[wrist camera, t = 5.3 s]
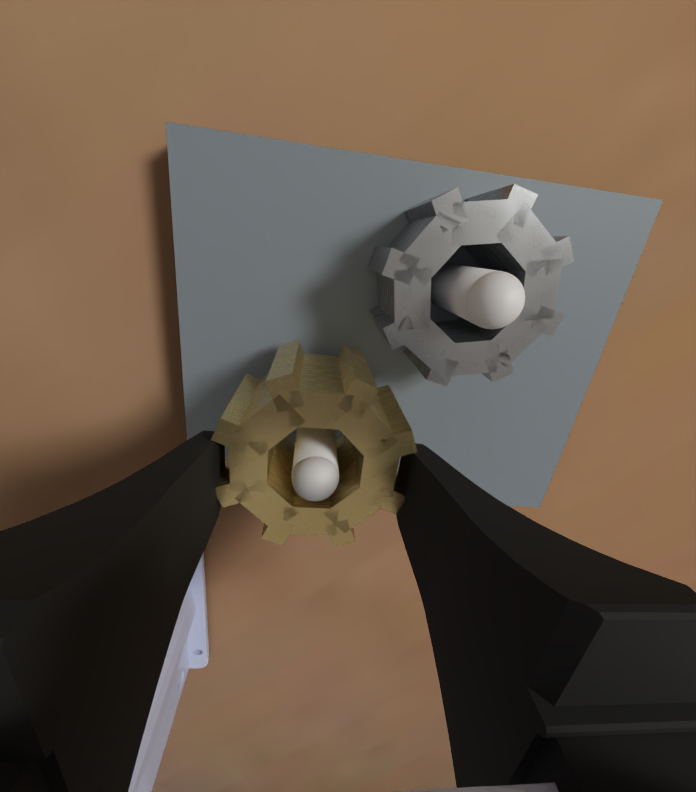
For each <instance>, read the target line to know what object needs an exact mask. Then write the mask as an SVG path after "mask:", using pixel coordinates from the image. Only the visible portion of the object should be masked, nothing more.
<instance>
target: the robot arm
mask: <svg viewBox="0 0 696 792" xmlns="http://www.w3.org/2000/svg"><path fill="white" fill-rule="evenodd" d="M213 433H214V431H204V430H203V431H202V432H200V433H198V434H196V435H195V436H193V437H192V438H190V439H189V440H187V441H186V442H184V443H183V444H181V445H180V446H178V447H177V448H175V449H173V450H172V451H170V452H169V453H167V454H166V455H164V456H163V457H161V458H159V459H158V460H156V461H155V462H153V463H151V464H149V465H148V466H146V467H144V468H143V469H141V470H139V471H137V472H136V473H134V474H132V475H130V476H129V477H127V478H125V479H123V480H122V481H120V482H118V483H116V484H114V485H112V486H110V487H108V488H106V489H104V490H102V491H100V492H98V493H96V494H93V495H91V496H89V497H87V498H85V499H83V500H81V501H78V502H76V503H74V504H71V505H69V506H66V507H64V508H61V509H59V510H56V511H54V512H51V513H49V514H46V515H44V516H41V517H39V518H36V519H34V520H31V521H29V522H26V523H23V524H21V525H18V526H15V527H12V528H9V529H6V530H3V531H0V792H152V788H153V785H154V782H155V778H156V775H157V772H158V769H159V765H160V762H161V759H162V755H163V752H164V749H165V746H166V742H167V739H168V736H169V732H170V729H171V726H172V722H173V719H174V716H175V713H176V709H177V706H178V703H179V699H180V696H181V693H182V690H183V686H184V683H185V680H186V676H187V673H188V670H189V668H203V667H205V666H206V665H207V664H208V660H209V643H208V625H207V606H206V587H205V569H204V549H205V547H206V545H207V542H208V540H209V537H210V535H211V533H212V530H213V528H214V525H215V523H216V521H217V518H218V515H219V511H220V508H221V503H220V502H219V500H218V498H217V496H216V486H217V484H218V482H219V479H220V477H221V475H222V472H223V470H224V468H225V445H222V444H220V443H217V442H215V441H212V440H211V438H212V436H213ZM415 444H416V448H417V452H415V453H412V454H408V455H405V456H401V458H400V463H399V468H398V473H397V475H398V477H399V480H400V483H401V486H402V489H403V492H404V494H405V499H404V503H403V504H402V506H401V507H400V508H399V510H398V511H397V513H396V516H397V521H398V525H399V529H400V532H401V535H402V538H403V541H404V544H405V548H406V551H407V554H408V557H409V560H410V563H411V566H412V569H413V572H414V575H415V578H416V582H417V585H418V588H419V591H420V594H421V598H422V602H423V605H424V609H425V614H426V619H427V623H428V628H429V633H430V637H431V642H432V647H433V652H434V657H435V662H436V667H437V672H438V677H439V682H440V688H441V694H442V699H443V705H444V711H445V716H446V722H447V728H448V734H449V740H450V746H451V753H452V759H453V766H454V772H455V779H456V785H457V788H445V789H428V790H410V791H393V792H696V593H695V592H694V591H693V590H692V589H691V588H690V587H688V586H687V585H684V584H682V583H679V582H676V581H673V580H670V579H668V578H665V577H662V576H659V575H657V574H654V573H651V572H648V571H645V570H643V569H640V568H637V567H634V566H631V565H629V564H626V563H624V562H621V561H619V560H616V559H614V558H611V557H609V556H607V555H604V554H602V553H599V552H597V551H595V550H592V549H590V548H588V547H585V546H583V545H581V544H579V543H577V542H574V541H572V540H570V539H568V538H566V537H564V536H562V535H560V534H558V533H556V532H554V531H552V530H550V529H548V528H546V527H544V526H542V525H540V524H538V523H537V522H535V521H533V520H531V519H529V518H527V517H526V516H524V515H522V514H521V513H519V512H517V511H516V510H514V509H512V508H511V507H509V506H507V505H506V504H504V503H502V502H501V501H499V500H498V499H496V498H495V497H493V496H492V495H490V494H489V493H488V492H486V491H485V490H483V489H482V488H480V487H479V486H477V485H476V484H475V483H473V482H472V481H471V480H469V479H468V478H467V477H465V476H464V475H463V474H461V473H460V472H459V471H458V470H456V469H455V468H454V467H452V466H451V465H450V464H449V463H447V462H446V461H445V460H444V459H442V458H441V457H440V456H439V455H437V454H436V453H435V452H433V451H432V450H431V449H429V448H428V447H427V446H425V445H423V444H417V443H415Z"/></svg>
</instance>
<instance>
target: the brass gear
mask: <svg viewBox="0 0 696 792" xmlns="http://www.w3.org/2000/svg"><path fill="white" fill-rule="evenodd" d="M298 427H304V428H320V429H336V430H340V431H341V432H342V433H343V434H344V435H343V436H341V437H340V438H339V439H337V440H336V447H337V458H338V468H339V482H338V485H337V488H336V490H335V491H334V492H333V493H332V495H330V496H329V497H328V498H326V499H324V500H321V501H308V500H306V499H304V498H302V497H301V496H299V495H298V494H297V492H296V491H295V489H294V487H293V485H292V480H291V475H292V466H293V457H294V448H295V441H294V440H293V439H292V438H291V437H290V436H289V434H290V433H291V432H293V431H294V430H295V429H297V428H298ZM211 440H212V441H215V442H217V443H220V444H222V445H225V446H227V447H229V452H228V454H227V457H226V459H225V468H224V470H223V472H222V475H221V477H220V479H219V482H218V484H217V486H216V496H217V498H218V500H219V502H220V503H221V505H222V507H223V508H224V507H228V506H231V505H235V504H238V503H240V504H242V505H243V506H244V507H245V508H246V509H248V510H249V511H250V512H251V513H253V514H254V515H255V516H256V517H257V518H259V519H260V520H261V521H262V522H263V523H264V527H263V532H262V537H261V539H264V540H267V541H270V542H273V543H276V544H279V545H282V546H283V545H284V543H285V541H286V540H287V538H288V537H289V535H290V534H301V535H328V536H329V538H330V541H331V543H332V545H333V547H336V546H339V545H343V544H347V543H350V542H354V541H355V537H354V529H353V527H354V526H356V525H357V524H359V523H360V522H362V521H363V520H365V519H366V518H368V517H369V516H371V515H372V514H374V513H375V512H376V511H378V510H379V509H383V510H386V511H388V512H391V513H393V514H396V513H397V511H398V510H399V508H400V507H401V506H402V504H403V503H404V499H405V494H404V492H403V489H402V486H401V483H400V480H399V477H398V475H397V473H398V464H399V459H400V457H401V456H405V455H408V454H412V453H415V452H417V448H416V444H415V440H414V436H413V432H412V429H411V427H410V425H409V423H408V421H407V419H406V418H405V416H404V414H403V412H402V410H401V408H400V406H399V404H398V402H397V400H396V398H395V396H394V394H393V392H392V390H391V388H390V386H389V385H386V386H382V387H379V388H377V385H376V383H375V381H374V378H373V376H372V374H371V371H370V369H369V367H368V364H367V362H366V360H365V357H364V355H363V353H362V352H360V351H358V350H356V349H354V348H352V347H351V346H349V345H347V344H344V346H343V348H342V350H341V352H340V353H339V355H338V356H329V355H318V354H306V353H304V351H303V348H302V345H301V342H300V339H299V340H296V341H293V342H289V343H286V344H283V345H280V346H279V348H278V351H277V353H276V356H275V358H274V361H273V363H272V366H271V368H270V371H269V373H268V374H266V375H265V376H264V377H263V378H262V379H258V378H256V377H253V376H251V375H249V374H247V373H246V375H245V377H244V378H243V380H242V382H241V384H240V385H239V387H238V389H237V391H236V392H235V394H234V396H233V398H232V399H231V401H230V403H229V405H228V406H227V408H226V410H225V411H224V413H223V415H222V417H221V418H220V421H219V423H218V425H217V427H216V429H215V431H214V433H213V436H212V438H211Z"/></svg>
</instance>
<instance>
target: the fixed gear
mask: <svg viewBox="0 0 696 792" xmlns="http://www.w3.org/2000/svg"><path fill="white" fill-rule="evenodd" d="M537 196H538V194H536V193H534V192H531V191H529V190H527V189H525V188H523V187H520V186H518V185H516V184H512V185H509V186H505V187H502V188H499V189H496V190H493V191H489V192H486V193H483V194H480V195H477V196H473V197H470V198H467V200H466V202H462V199H461V195H460V192H459V189H458V187H457V188H454V189H452V190H449V191H447V192H445V193H442V194H440V195H437V196H435V197H433V198H430V199H428V200H425V201H423V202H421V203H419V204H417V205H416V206H414V207H412V208H410V209H408V210H406V211H404V212H405V215H406V218H407V220H408V223H407V225H406V226H405V227H404V228H403V229H402V230H401V232H400V233H399V234H398V235H397V236H396V238H395V239H394V240H393V241H392V242H391V243H390V245H389V246H388V247H374V250H373V253H372V256H371V259H370V261H369V264H368V267H367V268H368V269H370V270H372V271H375V272H377V295H378V306H376V307H374V308H372V309H370V310H369V312H370V314H371V316H372V319H373V321H374V323H375V325H376V327H377V329H378V330H379V332H380V333H381V334H382V336H383V337H384V339H385V340H386V341H387V343H388V344H389V346H390V347H391V348H392V350H394V349H396V348H398V347H400V346H402V345H405V346H406V348H405V351H404V353H405V354H406V355H407V357H408V358H409V359H410V360H411V362H412V363H413V364H414V365H415V367H416V368H417V369H418V370H419V372H420V373H421V374H422V375H423V376H424V378H425V379H426V380H428V381H431V382H435V383H438V384H441V385H444V386H447V385H448V383H449V381H450V379H451V377H452V376H456V375H467V374H479V373H481V374H483V375H484V376H485V377H486V378H488V379H489V380H490V381H491V382H495V381H497V380H499V379H501V378H503V377H505V376H508V375H510V374H512V373H514V370H513V366H512V363H511V362H512V361H513V360H514V359H515V358H517V357H518V356H519V355H520V354H521V353H522V352H523V351H524V350H525V349H526V348H527V347H528V346H529V345H530V344H531V343H532V342H533V341H535V340H536V339H537V338H538V337H539V336H540V335H541V334H544V335H547V336H550V337H552V336H553V335H554V333H555V331H556V329H557V327H558V326H559V324H560V322H561V320H562V318H563V317H564V315H565V314H563V313H560V312H557V311H555V305H556V299H557V293H558V287H559V281H560V275H561V269H562V267H564V266H566V265H568V264H570V263H572V262H574V257H573V252H572V247H571V242H570V237H569V236H555V237H552V236H551V235H550V234H549V232H548V231H547V230H546V228H545V227H544V226H543V225H542V223H541V222H540V221H539V219H538V218H537V217H536V216H535V214H534V213H533V212H532V210H531V208H532V206H533V204H534V202H535V200H536V198H537ZM460 246H462V247H463V248H464V249H465V250H466V251H467V252H468V254H469V255H470V256H471V257H472V258H473V259H474V260H475V261H476V262H477V264H478V265H479V268H483V269H490V270H497V271H504V272H507V273H510V274H512V275H514V276H515V277H516V278H517V279H518V280H519V281H520V282H521V284H522V285H523V288H524V291H525V303H524V307H523V309H522V311H521V313H520V315H519V316H518V317H517V318H516V319H515V320H514V321H513V322H512V323H510V324H509V325H507V326H505V327H502V328H498V329H485V328H482V327H479V326H477V325H475V324H473V323H471V322H469V321H467V320H465V319H463V318H461V317H459V316H458V317H457V318H456V319H455V320H451V321H438V322H433V321H432V320H431V319H430V305H431V278H432V277H433V276H434V275H435V274H436V273H437V271H438V270H439V269H440V268H441V267H442V266H443V265H444V264H445V263H446V262H447V260H448V259H449V258H450V257H451V256H452V255H453V254H454V253H455V252H456V251H457V249H458V248H459V247H460Z"/></svg>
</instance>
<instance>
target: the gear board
mask: <svg viewBox="0 0 696 792" xmlns="http://www.w3.org/2000/svg"><path fill="white" fill-rule="evenodd" d="M166 135H167V150H168V165H169V180H170V194H171V209H172V224H173V239H174V254H175V269H176V284H177V299H178V314H179V329H180V344H181V359H182V374H183V389H184V404H185V418H186V433H187V440H189V439H190V438H192V437H193V436H195V435H196V434H198V433H200V432H202V431H203V430H204V431H215V429H216V427H217V425H218V423H219V421H220V418H221V417H222V415H223V413H224V411H225V410H226V408H227V406H228V405H229V403H230V401H231V399H232V398H233V396H234V394H235V392H236V391H237V389H238V387H239V385H240V384H241V382H242V380H243V378H244V377H245V375H246V373H247V374H249V375H251V376H253V377H256V378H258V379H262V378H263V377H264V376H265V375H266V374H268V373H269V371H270V368H271V366H272V363H273V361H274V358H275V356H276V353H277V351H278V348H279V346H280V345H283V344H286V343H289V342H293V341H296V340H299V339H300V342H301V345H302V348H303V351H304V353H306V354H318V355H329V356H338V355H339V353H340V352H341V350H342V348H343V346H344V344H347V345H349V346H351V347H352V348H354V349H356V350H358V351H360V352H362V353H363V355H364V357H365V360H366V362H367V364H368V367H369V369H370V371H371V374H372V376H373V378H374V381H375V383H376V385H377V388H379V387H382V386H386V385H389V386H390V388H391V390H392V392H393V394H394V396H395V398H396V400H397V402H398V404H399V406H400V408H401V410H402V412H403V414H404V416H405V418H406V419H407V421H408V423H409V425H410V427H411V429H412V432H413V436H414V440H415V443H417V444H423V445H425V446H427V447H428V448H429V449H431V450H432V451H433V452H435V453H436V454H437V455H439V456H440V457H441V458H442V459H444V460H445V461H446V462H447V463H449V464H450V465H451V466H452V467H454V468H455V469H456V470H458V471H459V472H460V473H461V474H463V475H464V476H465V477H467V478H468V479H469V480H471V481H472V482H473V483H475V484H476V485H477V486H479V487H480V488H482V489H483V490H485V491H486V492H488V493H489V494H490V495H492V496H493V497H495V498H496V499H498V500H499V501H501V502H502V503H504V504H506V505H507V506H522V507H540V506H541V503H542V501H543V498H544V496H545V493H546V491H547V488H548V486H549V483H550V481H551V478H552V476H553V473H554V471H555V468H556V466H557V463H558V461H559V458H560V456H561V453H562V451H563V448H564V446H565V443H566V441H567V438H568V436H569V433H570V431H571V428H572V426H573V423H574V421H575V418H576V416H577V413H578V411H579V408H580V406H581V403H582V401H583V398H584V396H585V393H586V391H587V388H588V386H589V383H590V381H591V378H592V376H593V373H594V371H595V368H596V366H597V363H598V361H599V358H600V356H601V353H602V351H603V348H604V346H605V343H606V341H607V338H608V336H609V333H610V331H611V328H612V326H613V323H614V321H615V318H616V316H617V313H618V311H619V308H620V306H621V303H622V301H623V298H624V296H625V293H626V291H627V288H628V286H629V283H630V281H631V279H632V276H633V274H634V271H635V269H636V266H637V264H638V261H639V259H640V256H641V254H642V251H643V249H644V246H645V244H646V241H647V239H648V236H649V234H650V231H651V229H652V226H653V224H654V221H655V219H656V216H657V214H658V211H659V209H660V206H661V204H662V201H663V200H659V199H653V198H646V197H640V196H634V195H627V194H621V193H615V192H608V191H602V190H596V189H589V188H583V187H577V186H570V185H564V184H558V183H551V182H545V181H538V180H532V179H526V178H519V177H513V176H507V175H500V174H494V173H488V172H481V171H475V170H469V169H462V168H456V167H450V166H443V165H437V164H431V163H424V162H418V161H411V160H405V159H399V158H392V157H386V156H380V155H373V154H367V153H361V152H354V151H348V150H342V149H335V148H329V147H323V146H316V145H310V144H304V143H297V142H291V141H285V140H278V139H272V138H265V137H259V136H253V135H246V134H240V133H234V132H227V131H221V130H215V129H208V128H202V127H196V126H189V125H183V124H177V123H170V122H166ZM512 184H516V185H518V186H520V187H523V188H525V189H527V190H529V191H531V192H534V193H536V194H538V196H537V198H536V200H535V202H534V204H533V206H532V208H531V210H532V212H533V213H534V214H535V216H536V217H537V218H538V219H539V221H540V222H541V223H542V225H543V226H544V227H545V228H546V230H547V231H548V232H549V234H550V235H551V236H552V237H555V236H569V237H570V242H571V247H572V252H573V257H574V262H572V263H570V264H568V265H566V266H564V267H562V269H561V275H560V281H559V287H558V293H557V299H556V305H555V311H557V312H560V313H563V314H565V315H564V317H563V318H562V320H561V322H560V324H559V326H558V327H557V329H556V331H555V333H554V335H553V336H552V337H550V336H547V335H544V334H541V335H540V336H539V337H538V338H537V339H536V340H535V341H533V342H532V343H531V344H530V345H529V346H528V347H527V348H526V349H525V350H524V351H523V352H522V353H521V354H520V355H519V356H518V357H517V358H515V359H514V360H513V361H512V362H511V363H512V366H513V370H514V373H512V374H510V375H508V376H505V377H503V378H501V379H499V380H497V381H495V382H491V381H490V380H489V379H488V378H486V377H485V376H484V375H483V374H481V373H479V374H467V375H456V376H452V377H451V379H450V381H449V383H448V385H447V386H444V385H441V384H438V383H435V382H431V381H428V380H426V379H425V378H424V376H423V375H422V374H421V373H420V372H419V370H418V369H417V368H416V367H415V365H414V364H413V363H412V362H411V360H410V359H409V358H408V357H407V355H406V354H405V353H404V351H405V348H406V346H405V345H402V346H400V347H398V348H396V349H394V350H392V348H391V347H390V346H389V344H388V343H387V341H386V340H385V339H384V337H383V336H382V334H381V333H380V332H379V330H378V329H377V327H376V325H375V323H374V321H373V319H372V316H371V314H370V312H369V310H370V309H372V308H374V307H376V306H378V295H377V272H375V271H372V270H370V269H368V268H367V267H368V264H369V261H370V259H371V256H372V253H373V250H374V247H388V246H389V245H390V243H391V242H392V241H393V240H394V239H395V238H396V236H397V235H398V234H399V233H400V232H401V230H402V229H403V228H404V227H405V226H406V225H407V223H408V220H407V218H406V215H405V212H404V211H406V210H408V209H410V208H412V207H414V206H416V205H417V204H419V203H421V202H423V201H425V200H428V199H430V198H433V197H435V196H437V195H440V194H442V193H445V192H447V191H449V190H452V189H454V188H457V187H458V189H459V192H460V195H461V199H462V202H466V200H467V198H470V197H473V196H477V195H480V194H483V193H486V192H489V191H493V190H496V189H499V188H502V187H505V186H509V185H512ZM524 303H525V291H524V288H523V285H522V284H521V282H520V281H519V280H518V279H517V278H516V277H515V276H514V275H512V274H510V273H507V272H504V271H497V270H490V269H483V268H479V265H478V264H477V262H476V261H475V260H474V259H473V258H472V257H471V256H470V255H469V254H468V252H467V251H466V250H465V249H464V248H463V247H462V246H460V247H459V248H458V249H457V251H456V252H455V253H454V254H453V255H452V256H451V257H450V258H449V259H448V260H447V262H446V263H445V264H444V265H443V266H442V267H441V268H440V269H439V270H438V271H437V273H436V274H435V275H434V276H433V277H432V278H431V305H430V319H431V320H432V321H433V322H438V321H451V320H455V319H456V318H457V317H458V316H459V317H461V318H463V319H465V320H467V321H469V322H471V323H473V324H475V325H477V326H479V327H482V328H485V329H498V328H502V327H505V326H507V325H509V324H510V323H512V322H513V321H514V320H515V319H516V318H517V317H518V316H519V315H520V313H521V311H522V309H523V307H524ZM343 435H344V434H343V433H342V432H341V431H340V430H336V429H320V428H304V427H298V428H297V429H295V430H294V431H293V432H291V433H290V434H289V436H290V437H291V438H292V439H293V440H294V441H295V448H294V457H293V466H292V475H291V480H292V485H293V487H294V489H295V491H296V492H297V494H298V495H299V496H301V497H302V498H304V499H306V500H308V501H321V500H324V499H326V498H328V497H329V496H330V495H332V493H333V492H334V491H335V490H336V488H337V485H338V482H339V468H338V458H337V447H336V440H337V439H339V438H340V437H341V436H343ZM228 452H229V447H227V446H225V459H226V457H227V454H228ZM400 458H401V457H400ZM399 463H400V459H399ZM398 468H399V464H398Z"/></svg>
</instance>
